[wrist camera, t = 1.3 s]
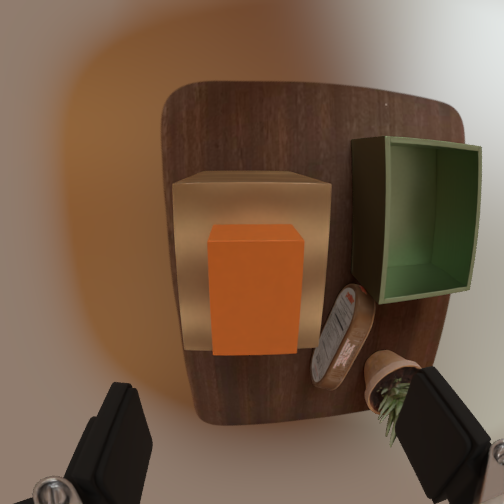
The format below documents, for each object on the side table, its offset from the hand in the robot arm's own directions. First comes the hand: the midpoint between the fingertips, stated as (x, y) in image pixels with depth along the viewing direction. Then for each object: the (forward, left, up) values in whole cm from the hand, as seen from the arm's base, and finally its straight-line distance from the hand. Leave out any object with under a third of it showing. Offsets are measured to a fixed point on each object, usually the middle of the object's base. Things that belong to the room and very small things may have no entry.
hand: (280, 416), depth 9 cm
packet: (0, 0, -12) cm, 12 cm away
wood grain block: (0, 0, -30) cm, 30 cm away
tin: (+18, +4, -31) cm, 36 cm away
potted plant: (+30, +8, -31) cm, 43 cm away
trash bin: (+7, +18, -30) cm, 36 cm away
